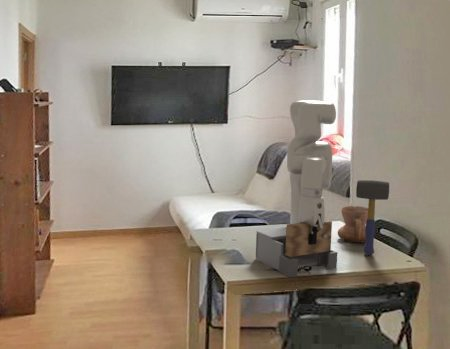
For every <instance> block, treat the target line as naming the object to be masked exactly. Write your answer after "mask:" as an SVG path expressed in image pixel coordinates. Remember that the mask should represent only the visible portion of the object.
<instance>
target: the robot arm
mask: <svg viewBox="0 0 450 349" xmlns="http://www.w3.org/2000/svg"><path fill="white" fill-rule="evenodd" d="M289 106H290V107H289V113H290V119H291V122H292V125H293V128H294V137H293V138H292V140H291V141H290V142H289V143H288V146H287V150H286V168H287V171H288V173H289V180H290V182H289V183H290V194H291V195H290V218H289V219H290V220H289V221H290V222H289V224H294V223H302V222H304V223H306V224H309V225H310V234H309V241H308V244H309V245H312V244H316V241H317V233H318V231H319V230H321V229H323V224H324V220H325V217H326V216H325V203H324V197H323V191H324V190H325V191H326V190H328V189H330V187H331V184H332V173H333V172H332V171H333V148H332V145H331V143H328V142H326V141H319V140H320V139H321V137H322V128H321V127H322V126H321V125H332V124H334V123H335V121H336V118H337V109H336V106H335V104H334V103H333V102H332V101H323V100H322V101H321V100H296V101H293V102H291V104H290V105H289ZM313 227H315V228H314V229H313Z"/></svg>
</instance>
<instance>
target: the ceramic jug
mask: <svg viewBox="0 0 450 349" xmlns="http://www.w3.org/2000/svg"><path fill="white" fill-rule="evenodd" d="M340 212H341V215H342V216H341V217H342V218H343V221H344V225H343V226H341V227H340V228H338V230H337V235H338V237H339V238H340V239H342V240H344V241H346V242H349V243H365V227H366V221H367V218H368V207H366V206H359V205H355V206H354V205H347V206H346V205H344V206H342V207H341V211H340Z"/></svg>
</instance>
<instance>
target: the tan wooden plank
mask: <svg viewBox="0 0 450 349" xmlns="http://www.w3.org/2000/svg"><path fill="white" fill-rule="evenodd" d="M286 227H287V228H286V254H285V255H287V256H289V257H294V256H300V255H307V254H313V253H319V252H326V251H331V250H332V248H331V247H332V246H331V245H332V228H333V221H332V220H329V219H324V224H323V229H321V230H319V231H318V233H317V241H316V244H312V245H309V244H308V241H309V234H310V225H309V224H306V223H304V222H302V223H294V224H290V223H288V224H286ZM314 228H315V227H313V229H314Z"/></svg>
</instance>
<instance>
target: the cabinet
mask: <svg viewBox="0 0 450 349" xmlns="http://www.w3.org/2000/svg"><path fill="white" fill-rule="evenodd" d="M286 228H287V226H286V227H285V226H284V227H279V228H271V229H263V230H256V239H255V240H256V241H255V242H256V244H255V247H256V248H255V260H256V261H258V262H260V263H263V264H265V265H267V266H268V267H271V268H272V269H275V270H277V271H278V273H281V274H282V273H283V274H282V275H284V274H285V275H284V276H285V277H288V278H289V277H295V276H298V269H299V268H298V267H300V266H308V267H314V266H323V264H324V265H326V270H328V271H329V270H333V269H337V266H338V265H337V264H338V252H337V251H335V250H333V249H331V251H326V252H319V253H313V254H307V255H300V256H294V257H289V256H287V255H285V254H286ZM313 265H314V266H313Z"/></svg>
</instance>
